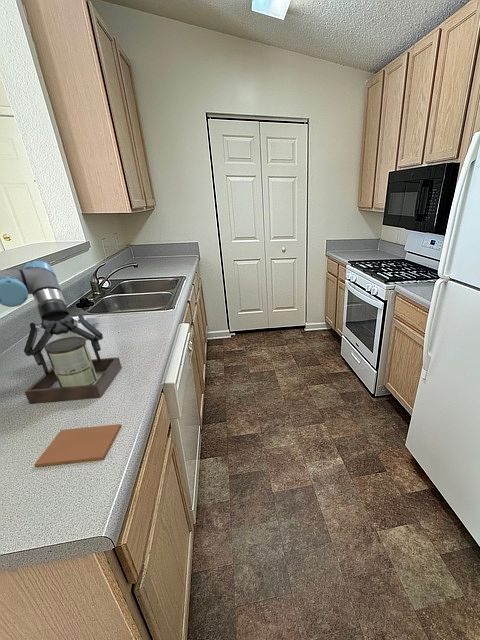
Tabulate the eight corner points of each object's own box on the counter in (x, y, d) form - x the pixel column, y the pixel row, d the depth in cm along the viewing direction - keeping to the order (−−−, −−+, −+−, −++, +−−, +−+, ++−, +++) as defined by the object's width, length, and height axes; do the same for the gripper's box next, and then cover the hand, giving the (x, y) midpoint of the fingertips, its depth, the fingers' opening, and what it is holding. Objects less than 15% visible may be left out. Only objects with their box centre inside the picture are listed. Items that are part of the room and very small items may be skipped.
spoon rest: (68, 325, 152) (63, 310, 149) (97, 320, 158) (93, 306, 154) (71, 342, 134) (65, 325, 131) (103, 335, 140) (99, 319, 137)
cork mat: (35, 467, 72) (34, 464, 72) (62, 432, 83) (61, 429, 82) (103, 459, 74) (102, 456, 74) (121, 426, 84) (120, 423, 84)
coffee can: (53, 388, 102) (36, 346, 96) (85, 373, 110) (71, 334, 104) (74, 395, 98) (57, 352, 92) (105, 380, 106) (92, 339, 100)
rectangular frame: (29, 403, 94) (24, 391, 93) (62, 372, 111) (58, 361, 109) (100, 397, 97) (96, 385, 95) (121, 367, 114) (118, 357, 112)
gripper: (97, 305, 114) (119, 359, 110) (5, 321, 100) (26, 384, 96) (96, 293, 108) (118, 350, 104) (-3, 309, 94) (19, 374, 90)
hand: (74, 366), depth 100 cm, fingers open, 13 cm apart
